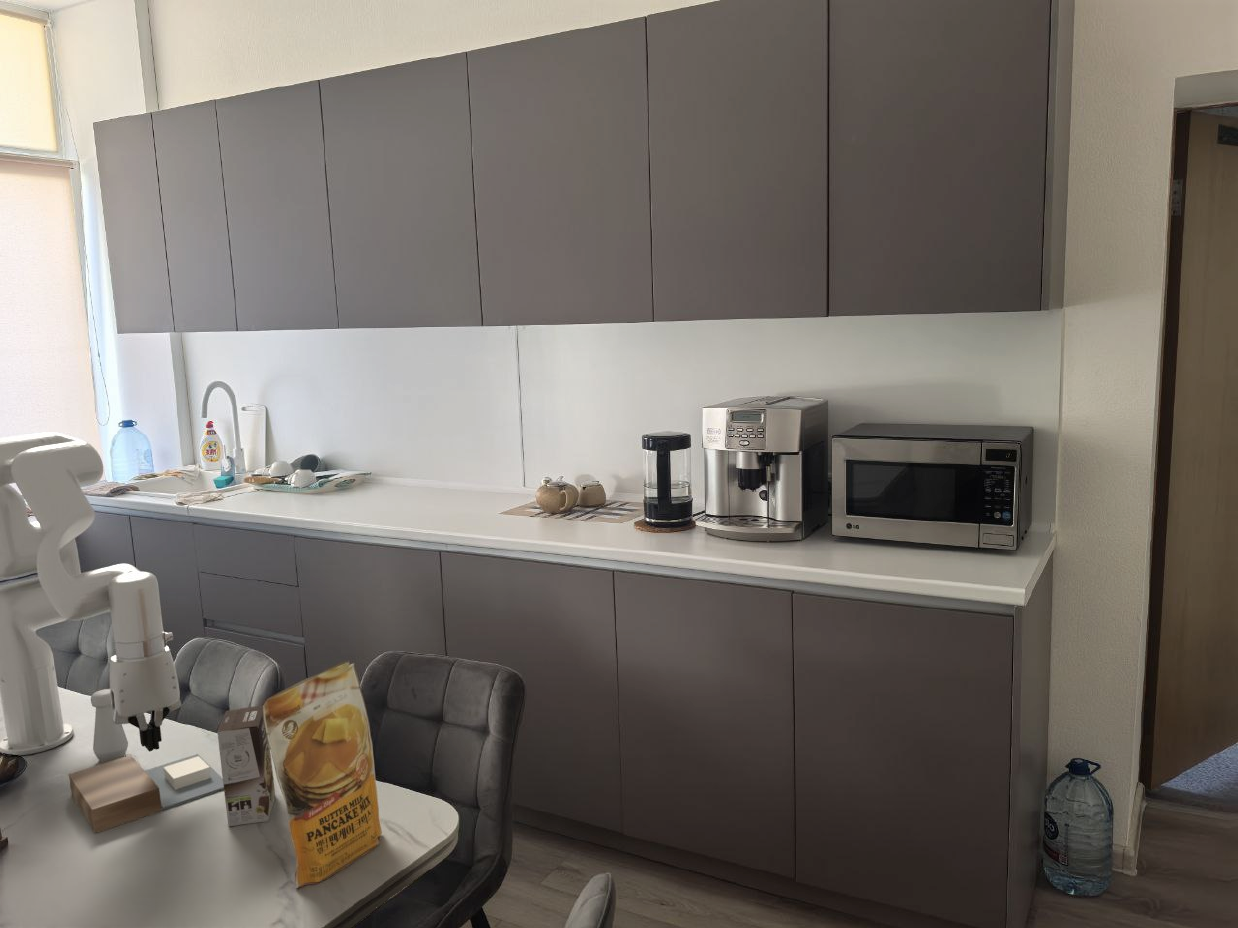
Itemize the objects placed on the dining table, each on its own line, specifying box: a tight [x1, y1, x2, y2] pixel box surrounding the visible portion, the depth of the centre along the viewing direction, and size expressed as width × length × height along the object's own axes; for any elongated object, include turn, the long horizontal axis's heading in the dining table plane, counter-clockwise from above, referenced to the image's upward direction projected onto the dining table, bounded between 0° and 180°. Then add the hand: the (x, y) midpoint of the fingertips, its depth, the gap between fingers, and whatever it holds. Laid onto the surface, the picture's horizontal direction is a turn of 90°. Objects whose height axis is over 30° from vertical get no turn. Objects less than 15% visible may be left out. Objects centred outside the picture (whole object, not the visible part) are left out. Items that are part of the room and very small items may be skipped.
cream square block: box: [163, 755, 211, 790], centre depth 175 cm, size 6×6×2 cm
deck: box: [68, 754, 163, 834], centre depth 168 cm, size 17×10×4 cm, turn 40°
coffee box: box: [217, 705, 276, 827], centre depth 162 cm, size 9×6×16 cm
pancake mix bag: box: [262, 660, 383, 889], centre depth 145 cm, size 7×19×28 cm, turn 147°
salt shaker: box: [90, 688, 129, 764], centre depth 184 cm, size 6×6×13 cm
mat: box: [144, 753, 224, 811], centre depth 174 cm, size 17×11×1 cm, turn 40°
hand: (151, 747), depth 171 cm, fingers closed
